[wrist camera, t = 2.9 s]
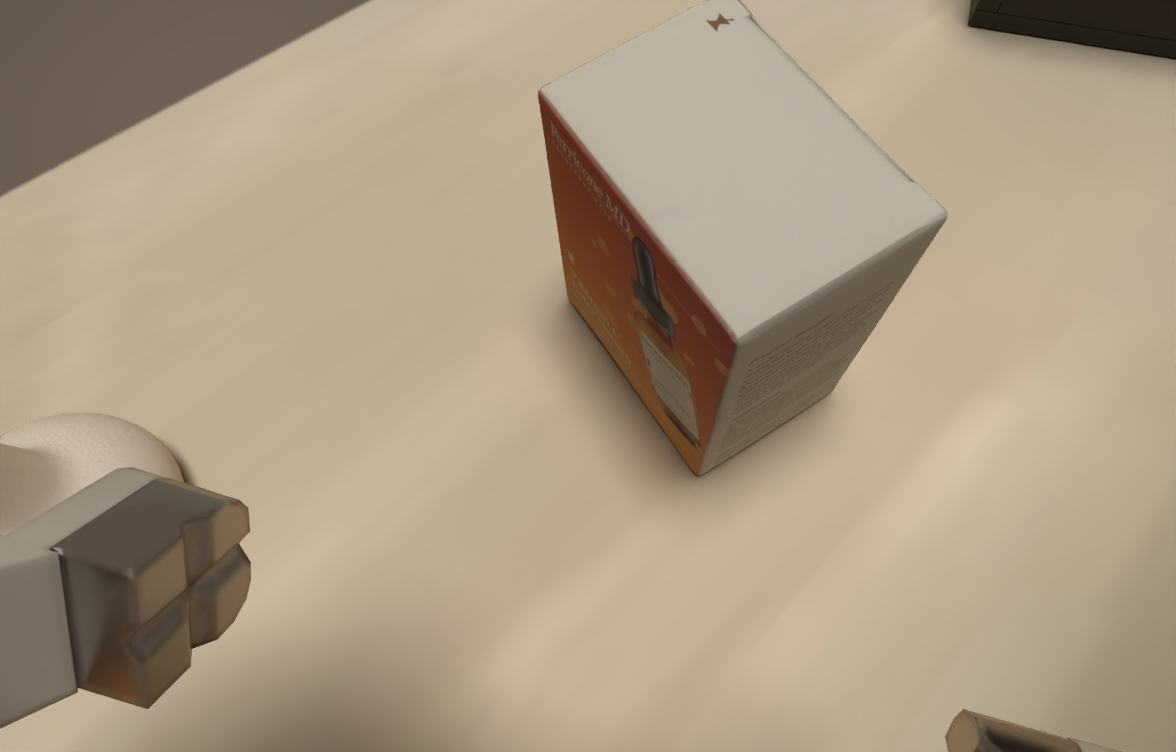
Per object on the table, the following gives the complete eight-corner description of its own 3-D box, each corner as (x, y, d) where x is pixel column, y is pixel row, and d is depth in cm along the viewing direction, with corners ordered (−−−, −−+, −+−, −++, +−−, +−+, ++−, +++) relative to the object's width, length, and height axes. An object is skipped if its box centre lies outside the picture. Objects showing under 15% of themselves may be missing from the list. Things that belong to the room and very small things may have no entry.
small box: (565, 298, 28) (526, 81, 18) (696, 221, 29) (726, -24, 19) (696, 484, 25) (734, 347, 15) (837, 394, 26) (958, 209, 16)
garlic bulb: (-28, 530, 26) (-292, 460, 19) (129, 395, 27) (-57, 282, 20) (76, 670, 24) (-171, 654, 17) (239, 517, 26) (78, 441, 18)
